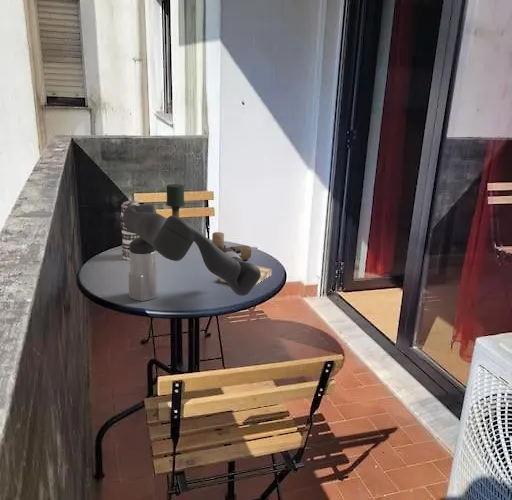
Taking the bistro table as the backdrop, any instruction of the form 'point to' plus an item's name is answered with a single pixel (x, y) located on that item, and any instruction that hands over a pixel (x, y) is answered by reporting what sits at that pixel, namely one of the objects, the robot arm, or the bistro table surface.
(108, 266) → the bistro table surface
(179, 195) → the potato masher grenade
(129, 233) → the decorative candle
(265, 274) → the board
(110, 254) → the bistro table surface
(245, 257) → the stone weight
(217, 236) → the peg
